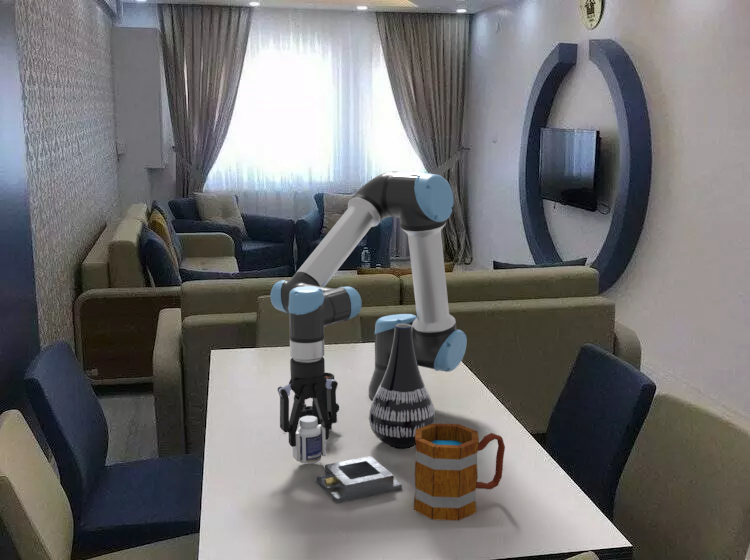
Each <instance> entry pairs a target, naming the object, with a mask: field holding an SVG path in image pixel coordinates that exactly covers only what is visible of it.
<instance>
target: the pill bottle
mask: <svg viewBox="0 0 750 560" xmlns="http://www.w3.org/2000/svg"><path fill="white" fill-rule="evenodd" d="M299 422H300V423H299V427H297V431H298V432H299V433H300V461H298V462H299V463H301V464H306V465H311V464H317V463H319V462H320V461H321V460H322V455H321V429H320V428H319V427H318V426H317V425H318V419H317V417H315V416H304V417H301V418H300V419H299Z"/></svg>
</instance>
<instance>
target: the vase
mask: <svg viewBox="0 0 750 560" xmlns="http://www.w3.org/2000/svg"><path fill="white" fill-rule="evenodd" d="M424 382H425V381H424V380H423V378H422V375H421V371H420V369H419V366H418V365H417V360H416V356H415V350H414V344H413V336H412V326H411V325H410V324H397V325H395V332H394V340H393V345H392V350H391V355H390V359H389V363H388V366H387V370H386V372H385V375H384V377H383V380H382V382H381V384H380V386H379V388H378V390H377V392H376V394H375V396H374V398H373V399H372V401H371V404H370V407H369V411H368V412H369V413H368V422H369V426H370V429H371V430H372V433H373V434H374V436H376V438H377V439H378V440H380V441H381V442H383V443H384V444H386V445H388V446H389V447H391V448H392V449H396V450H407V449H411V448H413V447H416V443H415V432H416V429H418V428H421V427H424V426H427V425H430V424H433V423H436V412H435V407H434V403H433V400H432V398H431V395H430V393H429V391H428V390H427V387H426V385H425V383H424Z"/></svg>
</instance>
